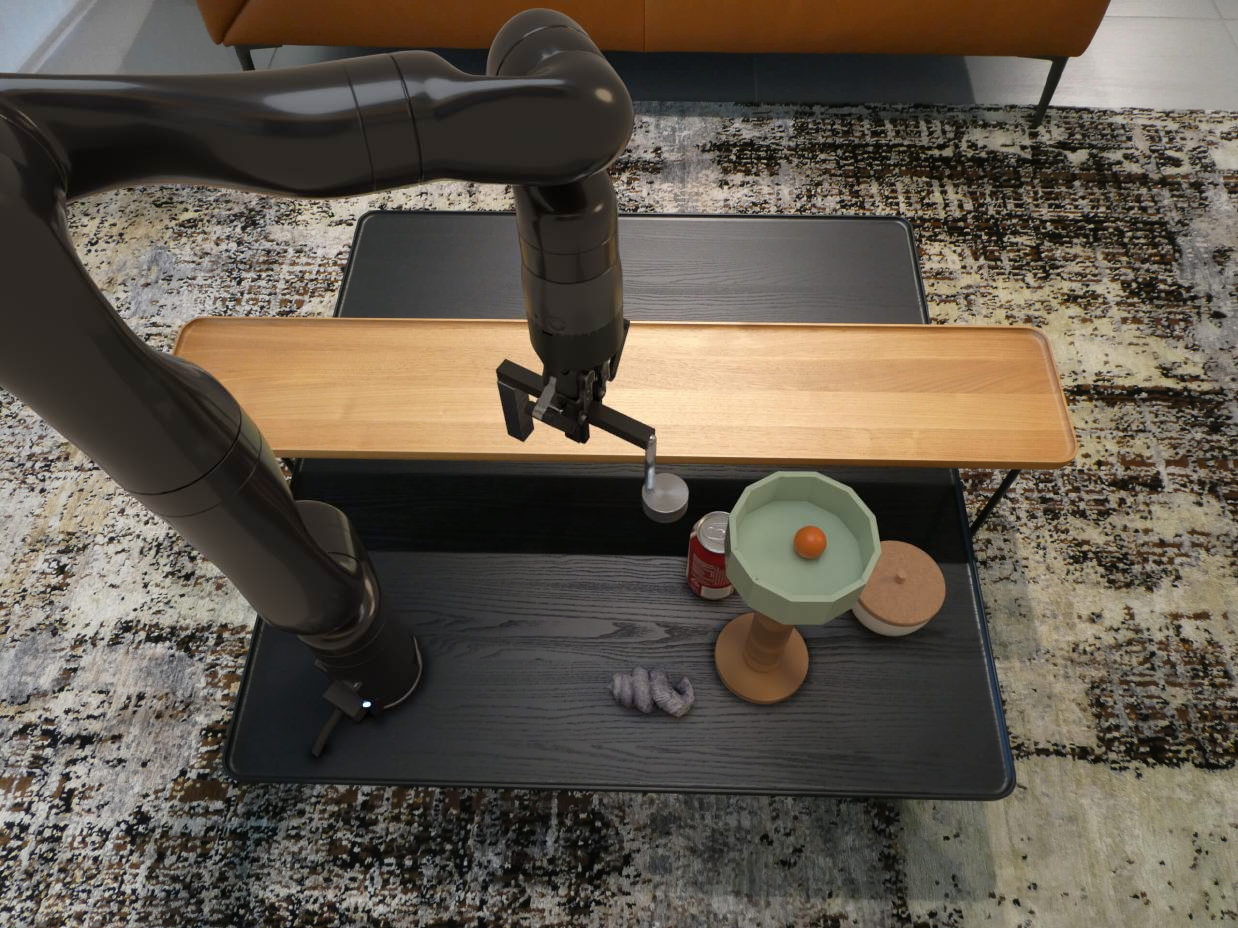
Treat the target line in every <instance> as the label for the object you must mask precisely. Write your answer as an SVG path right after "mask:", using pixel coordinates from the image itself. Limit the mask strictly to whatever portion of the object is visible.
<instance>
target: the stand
mask: <svg viewBox="0 0 1238 928" xmlns="http://www.w3.org/2000/svg"><path fill="white" fill-rule="evenodd" d="M809 662H810V661H809V652H808V648H807V645H806V642H805V640H804V639H803V637H802V635H801V634H800V633H799V631H798V630H797V628H795V625H788V624H781V623H779V622H777V621H775V620H773V619H772V618H770V617H768V616H766V615H764V614H762V613H760V612H758V611H756V610H754V612H748V613H744V614H741V615H739V616H737V617H734V618H733V619H732V620H730V621H729V622H728V623H727V624H725V626H724V627H723V628H722V630H721V631H720V633H719V634H718V637H717V640H716V643H715V649H714V665H715V668H716V669H715V670H716V671H717V674H718V677H719V678H720V680H721V682H722V683H723V684H724V686H725V687H726V688H727V689H728V690H729V691H730V692H731V693H732V694H733V695H735V696H736V697H738V698H740V699H742V700H743V701H746V702H749V703H753V704H756V705H772V704H777V703H780V702H783V701H785V700H787V699H789V698H790V697H791V696H793V695H794V694H795V693H796V692H797V691H798V690H799V689H800V687H801V686H802V684H803V682H804V680H805V678H806V676H807V674H808V669H809Z"/></svg>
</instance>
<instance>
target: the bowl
mask: <svg viewBox="0 0 1238 928" xmlns="http://www.w3.org/2000/svg"><path fill="white" fill-rule="evenodd" d="M805 526H814V527H817V528H819V529H820V530H821V531H822V532H823V533H824V534H825V536H826V540H827V545H826V549H825V551H824V552H823V553H822V554H821V555H820V556H818V557H816V558H805V557H803V556H801V555H800V554H798V552H797V551H796V550H795V547H794V543H793V541H794V536H795V534H796V533H797V531H798V530H799V529H801V528H803V527H805ZM880 542H881V540H880V535H879V528H878V523H877V518H876V515H875V514H874V513H873V512H872V511H871V509H870V508H869V507H868V506H867V504H866V503H865V502H864V501H863V500H862V499H861V497H859V495H858V493H856V491H855V490H854V489H853V488H852V487H850V486H848V485H846V484H843V483H842V482H839V481H837V480H835V479H833V478H831V477H828V476H826V475H824V474H822V473H820V472H817V471H793V470H792V471H785V470H784V471H781V470H780V471H778V470H777V471H776V472H774V473H771V474H770V475H768V476H765V477H764V478H762V479H760V480H758V481H755V482H754V483H752V484H750V485H748V486H746V487H745V488H744V490H743V491H742V493H741V495H740V496H739V498H738V500H737V502H736V503H735V505H734V507H733V508H732V510H731V512H730V515H729V518H728V523H727V528H726V534H725V539H724V551H725V568H726V576H727V577H728V579H729V580H730V582H731V583H732V585H733V586H734V587H735V589H736V590H735V591H736V592H737V593H738V595H739V596H740V598H741V599H742V600H743V603H744V604H745V605H746V606H747V607H748V608H750V609H753V610H754V611H755V610H756V611H758V612H760V613H762V614H764V615H766V616H768V617H770V618H772V619H773V620H775V621H777V622H779V623H781V624H788V625H794V626H795V625H798V626H799V625H800V626H801V625H803V626H804V625H805V626H807V625H808V626H822V625H823V626H824V625H825V624H826V623H829V622H831V621H832V620H834V619H835V618H837V617H839V616H841V615H843V614H844V613H846V612H849V610H852V609H851V608H853V607H854V606H855V604H856V602H857V600H858V599H859V597H860V595H861V593H862V591H863V589H864V587H865V585H866V583H867V581H868V579H869V577H870V575H871V573H872V571H873V569H874V567H875V565H876V563H877V561H878V558H879V556H880V554H881V552H882V551H881V545H880Z"/></svg>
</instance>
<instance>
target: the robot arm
mask: <svg viewBox="0 0 1238 928" xmlns="http://www.w3.org/2000/svg"><path fill="white" fill-rule="evenodd" d="M634 107H635V106H634V103H633V100H632V98H631V95H630V92H629V90H628V88H627V86H626V84H625V83H624V81H623V80H622V78H621V77H620V75H618V73H617V72H616V70H615V69H614V68H613V66H612V65H611V64H610V62H609V61H608V60H607V58H606V57H605V56H604V55H603V53H602V52H601V50H600V48H598V47H597V45H596V44H595V43H594V41H593V40H592V38H591V37H590V36H589V34H588V33H587V32H586V30H584V28H583V27H582V26H581V25H580V24H579V23H578V22H576V21H575V20H574V19H572V18H571V17H570V16H568V15H566V14H565V13H562V12H560V11H558V10H554V9H550V8H543V7H538V8H537V7H535V8H531V9H527V10H523V11H521V12H518V13H517V14H516V15H514V16H512V17H511V18H510V19H508V21H506V23H504V24H503V26H502V27H501V28H500V29H499V31H498V32H497V34H496V36H495V38H494V39H493V41H492V43H491V46H490V49H489V52H488V56H487V60H486V67H485V75H477V74H476V75H475V74H470V73H467V72H464V71H462V70H460V69H458V68H457V67H456V66H454V65H452V64H451V63H450V62H449V61H447V60H446V59H445V58H443V57H442V56H440V55H438V54H437V53H435V52H433V51H429V50H419V49H418V50H401V51H393V52H389V53H386V52H384V53H377V54H370V55H364V56H357V57H348V58H341V59H335V60H328V61H320V62H316V63H309V64H303V65H302V64H301V65H292V66H284V67H275V68H265V69H264V68H263V69H253V70H242V71H241V70H239V71H238V70H237V71H222V72H199V73H153V74H152V73H147V74H146V73H145V74H144V73H143V74H142V73H141V74H140V73H139V74H137V73H136V74H135V73H134V74H130V73H129V74H128V73H124V74H123V73H36V72H34V73H31V72H30V73H28V72H0V387H1V388H2V389H3V390H5V391H6V392H8V393H9V394H11V395H12V396H13V397H15V398H16V399H17V400H18V401H20V402H21V403H23V404H24V405H25V406H27V407H28V408H29V409H30V410H31V411H33V413H35V414H36V415H38V417H40V418H41V419H42V420H43V421H44V422H45V423H46V424H47V425H49V426H50V427H51V428H52V429H54V430H55V431H56V432H57V433H58V434H60V435H61V436H62V437H63V438H64V439H65V440H67V441H68V442H69V443H70V444H72V445H73V446H74V447H76V448H77V449H78V450H79V451H81V452H82V454H84V455H85V456H87V457H88V458H89V459H90V460H91V461H93V462H94V463H95V464H96V465H97V466H98V467H99V468H100V469H101V470H102V471H103V472H104V473H105V474H106V475H107V476H108V477H109V478H110V479H112V481H114V482H115V484H117V485H118V486H119V487H120V488H122V490H124V491H125V492H126V493H127V494H129V495H130V496H131V497H132V498H134V500H136V501H137V502H138V503H139V504H141V505H142V506H143V507H144V508H145V509H146V510H147V511H148V512H150V513H151V514H153V515H154V516H155V517H157V518H158V519H160V520H161V521H162V522H164V523H165V524H166V525H167V526H168V527H170V528H171V529H172V530H173V531H175V532H176V534H178V535H179V536H180V537H181V538H182V539H183V540H184V541H185V542H186V543H187V544H189V545H190V546H191V547H192V548H193V549H194V550H196V551H197V552H198V553H199V554H200V555H201V556H203V558H205V559H206V560H208V562H210V563H211V564H212V565H213V566H215V568H217V570H219V571H220V572H221V573H222V574H223V575H224V576H225V577H226V578H227V579H228V580H229V581H230V583H231V584H232V585H233V586H234V587H235V588H236V589H237V591H238V592H239V593H240V594H241V596H242V597H243V598H244V599H245V600H246V601H247V603H248V604H249V605H250V606H251V608H252V609H253V610H254V611H255V613H256V614H257V615H258V616H259V617H260V619H262V621H263V622H265V623H266V624H267V625H269V626H270V627H273V628H274V629H276V630H278V631H281V632H283V633H287V634H289V635H290V634H291V635H294V636H295V635H296V636H297V638H298V639H299V641H301V643H302V644H303V645H304V646H305V647H306V648H307V650H309V651H310V653H311V654H312V655H313V656H314V657H315V658H316V660H315V662H314V666H315V667H316V668H317V669H318V670H319V671H320V672H321V674H322V675H323V676H324V677H325V678H326V679H327V680H328V681H329V682H330V683H331V685H330V686H329V687H328V689H327V690H326V691H325V693H323V695H322V697H323V698H324V700H325V701H326V702H327V703H328V704H330V705H331V706H332V707H334V708H335V710H334V711H333V713H332V714H331V716H330V717H329V719H328V720H327V722H326V723H325V724H324V726H323V728H322V730H321V731H320V733H319V734H318V737H317V738H316V741H315V743H314V746H313V748H312V750H311V752H310V753H312V754H313V755H314V756H315V757H317V758H319V757H320V755H321V753H322V751H323V748H324V746H325V744H326V742H327V740H328V738H329V736H330V735H331V733H332V731H333V730H334V728H335V727H336V725H337V724H338V722H339V721H340V719H341V718H342V716H343V715H344V714H345V715H346V716H347V717H349V718H351V719H352V720H353V721H354V722H355V721H356V722H357V723H360V722H361V721H362V719H363V718H364V717H365V716H366V714H367V713H370V714H371V715H373V716H374V717H376V718H380V717H381V716H382V715H383V714H384V712H385V711H388V710H391V709H393V708H396V707H398V706H400V705H402V704H403V703H404V702H406V701H407V700H408V699H409V698H410V697H411V696H412V695H413V694H414V693H415V691H416V690H417V688H418V687H419V686H420V683H421V680H422V677H423V672H424V662H423V657H422V654H421V652H420V650H419V648H418V643H417V639H416V637H415V636H413V639H412V638H411V637H410V634H409V633H408V631H407V630H406V628H405V626H404V624H403V623H402V620H401V619H400V617H399V616H398V614H397V612H396V611H395V609H394V607H393V604H391V602H390V599H388V597H387V595H386V593H385V592H384V590H383V588H382V586H381V582H380V580H379V578H378V575H377V572H376V569H375V566H374V563H373V561H372V559H371V556H370V555H369V553H368V551H367V549H366V547H365V545H364V542H363V541H362V539H361V538H360V535H359V534H358V532H357V529H356V528H355V526H354V524H353V523H352V521H351V520H350V518H349V517H348V516H347V515H346V514H345V513H344V512H343V511H342V510H340V509H339V508H337V507H336V506H333V505H331V504H328V503H326V502H322V501H317V500H311V499H310V500H306V499H305V500H303V499H301V500H296V499H295V498H294V495H293V492H292V490H291V488H290V485H289V483H288V481H287V479H286V477H285V474H284V472H283V470H282V468H281V465H280V464H279V461H278V459H277V457H276V455H275V452H274V451H273V449H272V448H271V446H270V444H269V442H268V441H267V439H266V437H265V435H264V434H263V433H262V431H261V430H260V427H258V425H257V424H256V422H255V421H254V420H253V419H252V417H251V416H250V415H249V414H248V413H247V411H246V409H244V408H243V406H242V405H241V404H240V403H239V401H238V400H237V399H236V398H235V397H234V395H233V394H232V393H231V392H230V391H229V390H228V388H227V387H226V386H225V385H224V384H223V383H222V382H221V381H220V380H219V379H218V378H216V377H215V376H214V375H213V374H212V373H210V372H209V371H207V370H206V369H205V368H203V367H202V366H200V365H198V364H196V363H194V362H193V361H190V360H188V359H187V358H183V357H180V356H178V355H175V354H172V353H169V352H166V351H162V350H160V349H157V348H155V347H153V346H151V345H150V344H148V343H147V342H145V341H144V339H142V338H141V337H140V336H138V334H137V333H136V332H135V331H134V330H133V329H132V328H131V327H130V326H129V325H128V324H127V322H126V321H125V320H124V318H123V317H122V316H121V314H120V313H119V312H118V310H117V309H116V308H115V307H114V306H113V305H112V303H111V302H110V301H109V299H108V298H107V296H105V294H104V293H103V291H102V290H101V288H100V287H99V286H98V284H97V283H96V282H95V280H94V278H92V276H91V274H90V273H89V271H88V269H87V268H86V266H85V265H84V263H83V262H82V259H81V258H80V256H79V254H78V252H77V250H76V248H75V245H74V241H73V238H72V235H71V232H70V226H69V217H68V205H69V204H72V203H74V202H77V201H81V200H84V199H88V198H91V197H95V196H99V195H103V194H106V193H109V192H113V191H118V190H119V191H120V190H123V189H130V188H136V187H146V186H147V187H148V186H161V185H162V186H163V185H184V186H186V185H187V186H201V187H207V188H208V187H209V188H215V189H216V188H217V189H225V190H231V191H237V192H238V191H239V192H244V193H250V194H255V195H261V196H269V197H272V198H273V197H274V198H280V199H281V198H282V199H287V200H298V201H299V200H300V201H334V200H346V199H354V198H361V197H366V196H371V195H376V194H384V193H387V192H388V193H389V192H395V191H399V190H405V189H410V188H415V187H419V186H426V185H428V184H433V183H438V182H447V181H448V182H458V183H459V182H460V183H467V184H468V183H469V184H476V185H493V186H495V185H496V186H497V185H498V186H511V190H512V194H513V199H514V205H515V221H516V228H517V236H518V242H519V249H520V256H521V257H520V258H521V260H520V261H521V264H520V265H521V266H520V278H521V279H520V280H521V287H522V294H523V301H524V308H525V315H526V321H527V327H528V328H527V329H528V334H529V341H530V344H531V346H532V349H533V351H534V352H535V353H536V355H537V356H538V358H539V359H540V362H541V363H542V374H541V375H542V378H541V380H542V384H543V386H544V387H545V389H544V391H543V393H542V395H541V397H540V398H536V401H533V400H530V401H529V402H528V403H527V405H526V407H525V414H527V415H529V416H531V417H533V419H535V420H537V421H539V422H541V423H543V424H545V425H547V426H548V427H549V426H550V427H551V428H553V429H556V430H558V431H560V432H562V433H564V437H565V438H566V439H569V440H571V441H573V442H575V443H577V444H578V445H580V444H582V445H586V444H587V443H588V441H589V440H590V438H591V431H590V426H593V427H595V428H597V427H596V426H594V425H592V424H590V423H589V419H588V405H589V404H590V402H591V401H592V399H593V400H595V401H597V402H599V403H601V404H603V399H604V398H605V396H606V394H607V383H608V382H609V383H612V382H613V381H614V380H615V379H616V377H617V372H618V369H619V366H620V362H621V358H622V356H623V351H624V347H625V344H626V341H627V337H628V334H629V330H630V326H631V320H629V319H627V318H626V317H625V318H624V275H623V274H624V273H623V265H622V264H623V263H622V259H621V254H620V234H619V233H620V232H619V231H620V229H619V228H620V227H619V225H620V224H619V203H618V198H617V193H616V190H615V186H614V183H613V181H612V179H611V176H610V174H609V173H608V171H607V169H608V168H609V167H611V165H613V164H614V163H615V162H616V161H617V160H618V159H619V158H620V157H621V156H622V155H623V153H624V152H625V150H626V148H627V147H628V145H629V143H630V142H631V138H632V136H633V134H634V130H635V116H636V115H635V108H634ZM413 640H414V641H413Z"/></svg>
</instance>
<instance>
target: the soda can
mask: <svg viewBox="0 0 1238 928" xmlns="http://www.w3.org/2000/svg"><path fill="white" fill-rule="evenodd" d="M730 513H731V512H730ZM730 513H729V512H726V511H719V510H718V511H711V512H709V513H707V514H705V515H704V516H702V517H701V518H700V519H699V520H698V521H697V522H696V523H695V524H694V526H693V527H692V529H691V532H690V534H689V535H690V536H689V545H688V552H687V560H686V561H687V562H686V568H685V569H686V571H685V576H686V577H685V578H686V582H687V584H688V586H689V588H690V589H691V590H692V592H693V593H694V594H696V595H697V596H699V597H701V598H703V599H705V600H710V601H711V600H712V601H717V600H722V599H725V598H728V597H729V596H731V595H732V594H733V593H734V592H735V591H737V590H736V589H735V587H734V586H733V585H732V583H731V582H730V580H729V579H728V577H727V576H726V568H725V551H724V539H725V534H726V528H727V523H728V518H729V515H730Z"/></svg>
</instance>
